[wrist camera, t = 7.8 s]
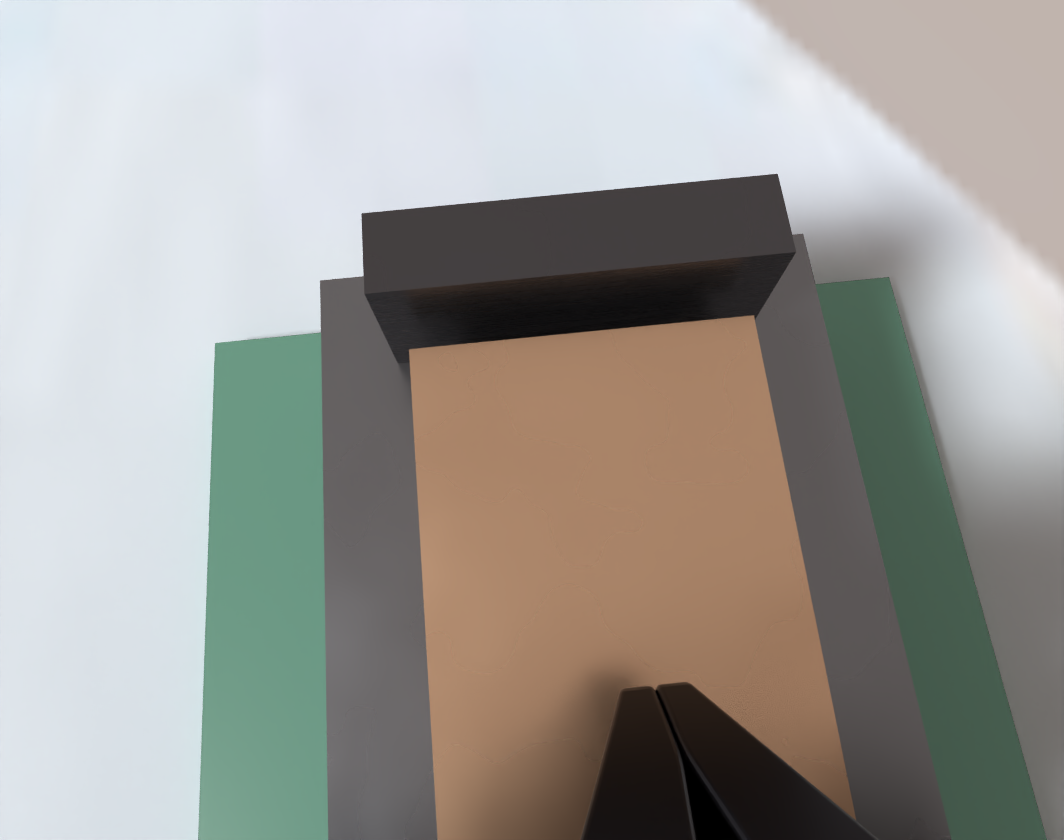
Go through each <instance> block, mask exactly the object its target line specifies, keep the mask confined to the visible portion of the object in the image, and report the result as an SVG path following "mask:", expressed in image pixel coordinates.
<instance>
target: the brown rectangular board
mask: <svg viewBox="0 0 1064 840" xmlns="http://www.w3.org/2000/svg"><path fill="white" fill-rule="evenodd" d="M409 358H410V375H411V392H412V410H413V427H414V444H415V461H416V478H417V495H418V512H419V530H420V547H421V564H422V581H423V598H424V615H425V633H426V650H427V667H428V684H429V701H430V718H431V735H432V753H433V770H434V787H435V804H436V821H437V838H438V840H580V838H581V834H582V830H583V827H584V823H585V819H586V815H587V812H588V808H589V804H590V801H591V797H592V793H593V789H594V786H595V782H596V778H597V774H598V771H599V767H600V763H601V760H602V756H603V752H604V748H605V745H606V741H607V737H608V733H609V730H610V726H611V722H612V718H613V715H614V711H615V707H616V704H617V700H618V696H619V693H620V691H621V690H622V689H624V688H632V687H641V686H651V687H653V688H654V689H656V687H657V686H658V685H660V684H668V683H678V682H688V683H690V684H692V685H693V686H694V687H696V688H697V689H698V690H699V691H700V692H702V693H703V694H704V695H705V696H706V697H708V698H709V699H710V700H711V701H712V702H714V703H715V704H716V705H717V706H718V707H720V708H721V709H722V710H723V711H724V712H726V713H727V714H728V715H729V716H731V717H732V718H733V719H734V720H735V721H737V722H738V723H739V724H740V725H741V726H743V727H744V728H745V729H746V730H747V731H749V732H750V733H751V734H752V735H753V736H755V737H756V738H757V739H758V740H759V741H761V742H762V743H763V744H764V745H765V746H767V747H768V748H769V749H770V750H772V751H773V752H774V753H775V754H776V755H778V756H779V757H780V758H781V759H782V760H784V761H785V762H786V763H787V764H788V765H790V766H791V767H792V768H793V769H794V770H796V771H797V772H798V773H799V774H800V775H802V776H803V777H804V778H805V779H807V780H808V781H809V782H810V783H811V784H813V785H814V786H815V787H816V788H817V789H819V790H820V791H821V792H822V793H823V794H825V795H826V796H827V797H828V798H829V799H831V800H832V801H833V802H834V803H835V804H837V805H838V806H839V807H840V808H841V809H843V810H844V811H845V812H846V813H848V814H849V815H850V816H851V817H852V818H854V819H855V820H856V817H855V812H854V807H853V802H852V797H851V792H850V787H849V782H848V777H847V772H846V767H845V763H844V758H843V753H842V748H841V743H840V738H839V733H838V728H837V723H836V718H835V713H834V708H833V703H832V698H831V694H830V689H829V684H828V679H827V674H826V669H825V664H824V659H823V654H822V649H821V644H820V639H819V634H818V629H817V624H816V620H815V615H814V610H813V605H812V600H811V595H810V590H809V585H808V580H807V575H806V570H805V565H804V560H803V555H802V551H801V546H800V541H799V536H798V531H797V526H796V521H795V516H794V511H793V506H792V501H791V496H790V491H789V486H788V482H787V477H786V472H785V467H784V462H783V457H782V452H781V447H780V442H779V437H778V432H777V427H776V422H775V417H774V412H773V408H772V403H771V398H770V393H769V388H768V383H767V378H766V373H765V368H764V363H763V358H762V353H761V348H760V343H759V339H758V334H757V329H756V324H755V319H754V315H752V316H742V317H732V318H722V319H711V320H701V321H691V322H681V323H671V324H661V325H651V326H640V327H630V328H620V329H610V330H600V331H590V332H580V333H569V334H559V335H549V336H539V337H529V338H519V339H508V340H498V341H488V342H478V343H468V344H458V345H448V346H437V347H427V348H417V349H409Z"/></svg>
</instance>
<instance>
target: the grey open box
mask: <svg viewBox="0 0 1064 840" xmlns="http://www.w3.org/2000/svg"><path fill="white" fill-rule="evenodd" d="M362 240H363V269H364V276H363V277H353V278H343V279H332V280H322V281H320V297H321V368H322V439H323V509H324V580H325V650H326V721H327V791H328V840H438V838H437V821H436V804H435V787H434V770H433V753H432V735H431V718H430V701H429V684H428V667H427V650H426V633H425V615H424V598H423V581H422V564H421V547H420V530H419V512H418V495H417V478H416V461H415V444H414V427H413V410H412V392H411V375H410V358H409V349H417V348H427V347H437V346H448V345H458V344H468V343H478V342H488V341H498V340H508V339H519V338H529V337H539V336H549V335H559V334H569V333H580V332H590V331H600V330H610V329H620V328H630V327H640V326H651V325H661V324H671V323H681V322H691V321H701V320H711V319H722V318H732V317H742V316H752V315H754V319H755V324H756V329H757V334H758V339H759V343H760V348H761V353H762V358H763V363H764V368H765V373H766V378H767V383H768V388H769V393H770V398H771V403H772V408H773V412H774V417H775V422H776V427H777V432H778V437H779V442H780V447H781V452H782V457H783V462H784V467H785V472H786V477H787V482H788V486H789V491H790V496H791V501H792V506H793V511H794V516H795V521H796V526H797V531H798V536H799V541H800V546H801V551H802V555H803V560H804V565H805V570H806V575H807V580H808V585H809V590H810V595H811V600H812V605H813V610H814V615H815V620H816V624H817V629H818V634H819V639H820V644H821V649H822V654H823V659H824V664H825V669H826V674H827V679H828V684H829V689H830V694H831V698H832V703H833V708H834V713H835V718H836V723H837V728H838V733H839V738H840V743H841V748H842V753H843V758H844V763H845V767H846V772H847V777H848V782H849V787H850V792H851V797H852V802H853V807H854V812H855V817H856V821H857V822H858V823H860V824H861V825H862V826H863V827H864V828H866V829H867V830H868V831H869V832H870V833H872V834H873V835H874V836H875V837H876V838H878V839H879V840H952V839H951V835H950V831H949V827H948V823H947V819H946V815H945V811H944V807H943V803H942V799H941V795H940V791H939V786H938V782H937V778H936V774H935V770H934V766H933V762H932V758H931V754H930V750H929V746H928V742H927V738H926V734H925V729H924V725H923V721H922V717H921V713H920V709H919V705H918V701H917V697H916V693H915V689H914V685H913V681H912V676H911V672H910V668H909V664H908V660H907V656H906V652H905V648H904V644H903V640H902V636H901V632H900V628H899V623H898V619H897V615H896V611H895V607H894V603H893V599H892V595H891V591H890V587H889V583H888V579H887V575H886V570H885V566H884V562H883V558H882V554H881V550H880V546H879V542H878V538H877V534H876V530H875V526H874V522H873V518H872V513H871V509H870V505H869V501H868V497H867V493H866V489H865V485H864V481H863V477H862V473H861V469H860V465H859V460H858V456H857V452H856V448H855V444H854V440H853V436H852V432H851V428H850V424H849V420H848V416H847V412H846V407H845V403H844V399H843V395H842V391H841V387H840V383H839V379H838V375H837V371H836V367H835V363H834V359H833V354H832V350H831V346H830V342H829V338H828V334H827V330H826V326H825V322H824V318H823V314H822V310H821V306H820V301H819V297H818V293H817V289H816V285H815V281H814V277H813V273H812V269H811V265H810V261H809V257H808V253H807V249H806V244H805V240H804V236H803V234H797V235H792V232H791V228H790V224H789V219H788V215H787V211H786V207H785V203H784V199H783V194H782V190H781V186H780V182H779V178H778V174H771V175H761V176H750V177H740V178H729V179H719V180H708V181H698V182H687V183H677V184H666V185H656V186H645V187H635V188H624V189H614V190H603V191H593V192H582V193H572V194H561V195H551V196H540V197H530V198H519V199H509V200H498V201H488V202H477V203H467V204H456V205H446V206H435V207H425V208H414V209H404V210H393V211H383V212H372V213H362Z"/></svg>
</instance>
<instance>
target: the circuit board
mask: <svg viewBox="0 0 1064 840" xmlns="http://www.w3.org/2000/svg"><path fill="white" fill-rule="evenodd" d="M815 285H816V289H817V293H818V297H819V301H820V306H821V310H822V314H823V318H824V322H825V326H826V330H827V334H828V338H829V342H830V346H831V350H832V354H833V359H834V363H835V367H836V371H837V375H838V379H839V383H840V387H841V391H842V395H843V399H844V403H845V407H846V412H847V416H848V420H849V424H850V428H851V432H852V436H853V440H854V444H855V448H856V452H857V456H858V460H859V465H860V469H861V473H862V477H863V481H864V485H865V489H866V493H867V497H868V501H869V505H870V509H871V513H872V518H873V522H874V526H875V530H876V534H877V538H878V542H879V546H880V550H881V554H882V558H883V562H884V566H885V570H886V575H887V579H888V583H889V587H890V591H891V595H892V599H893V603H894V607H895V611H896V615H897V619H898V623H899V628H900V632H901V636H902V640H903V644H904V648H905V652H906V656H907V660H908V664H909V668H910V672H911V676H912V681H913V685H914V689H915V693H916V697H917V701H918V705H919V709H920V713H921V717H922V721H923V725H924V729H925V734H926V738H927V742H928V746H929V750H930V754H931V758H932V762H933V766H934V770H935V774H936V778H937V782H938V786H939V791H940V795H941V799H942V803H943V807H944V811H945V815H946V819H947V823H948V827H949V831H950V835H951V839H952V840H1047V839H1046V836H1045V832H1044V828H1043V825H1042V821H1041V818H1040V814H1039V811H1038V807H1037V803H1036V800H1035V796H1034V793H1033V789H1032V786H1031V782H1030V778H1029V775H1028V771H1027V768H1026V764H1025V761H1024V757H1023V754H1022V750H1021V746H1020V743H1019V739H1018V736H1017V732H1016V729H1015V725H1014V721H1013V718H1012V714H1011V711H1010V707H1009V704H1008V700H1007V697H1006V693H1005V689H1004V686H1003V682H1002V679H1001V675H1000V672H999V668H998V664H997V661H996V657H995V654H994V650H993V647H992V643H991V640H990V636H989V632H988V629H987V625H986V622H985V618H984V615H983V611H982V607H981V604H980V600H979V597H978V593H977V590H976V586H975V583H974V579H973V575H972V572H971V568H970V565H969V561H968V558H967V554H966V550H965V547H964V543H963V540H962V536H961V533H960V529H959V526H958V522H957V518H956V515H955V511H954V508H953V504H952V501H951V497H950V493H949V490H948V486H947V483H946V479H945V476H944V472H943V468H942V465H941V461H940V458H939V454H938V451H937V447H936V444H935V440H934V436H933V433H932V429H931V426H930V422H929V419H928V415H927V411H926V408H925V404H924V401H923V397H922V394H921V390H920V387H919V383H918V379H917V376H916V372H915V369H914V365H913V362H912V358H911V354H910V351H909V347H908V344H907V340H906V337H905V333H904V330H903V326H902V322H901V319H900V315H899V312H898V308H897V305H896V301H895V297H894V294H893V290H892V287H891V283H890V280H889V277H886V278H875V279H865V280H855V281H845V282H835V283H824V284H815ZM198 840H328V791H327V721H326V650H325V580H324V509H323V439H322V368H321V333H314V334H304V335H294V336H283V337H273V338H263V339H253V340H243V341H232V342H222V343H215V362H214V392H213V421H212V451H211V480H210V509H209V539H208V568H207V598H206V627H205V656H204V686H203V715H202V745H201V774H200V803H199V833H198Z"/></svg>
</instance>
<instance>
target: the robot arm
mask: <svg viewBox="0 0 1064 840" xmlns="http://www.w3.org/2000/svg"><path fill="white" fill-rule="evenodd" d="M580 840H879V839H878V838H876V837H875V836H874V835H873V834H872V833H870V832H869V831H868V830H867V829H866V828H864V827H863V826H862V825H861V824H860V823H858V822H857V821H856V820H855V819H854V818H852V817H851V816H850V815H849V814H848V813H846V812H845V811H844V810H843V809H841V808H840V807H839V806H838V805H837V804H835V803H834V802H833V801H832V800H831V799H829V798H828V797H827V796H826V795H825V794H823V793H822V792H821V791H820V790H819V789H817V788H816V787H815V786H814V785H813V784H811V783H810V782H809V781H808V780H807V779H805V778H804V777H803V776H802V775H800V774H799V773H798V772H797V771H796V770H794V769H793V768H792V767H791V766H790V765H788V764H787V763H786V762H785V761H784V760H782V759H781V758H780V757H779V756H778V755H776V754H775V753H774V752H773V751H772V750H770V749H769V748H768V747H767V746H765V745H764V744H763V743H762V742H761V741H759V740H758V739H757V738H756V737H755V736H753V735H752V734H751V733H750V732H749V731H747V730H746V729H745V728H744V727H743V726H741V725H740V724H739V723H738V722H737V721H735V720H734V719H733V718H732V717H731V716H729V715H728V714H727V713H726V712H724V711H723V710H722V709H721V708H720V707H718V706H717V705H716V704H715V703H714V702H712V701H711V700H710V699H709V698H708V697H706V696H705V695H704V694H703V693H702V692H700V691H699V690H698V689H697V688H696V687H694V686H693V685H692V684H690V683H688V682H678V683H668V684H660V685H658V686H657V687H656V689H654V688H653V687H651V686H641V687H632V688H624V689H622V690H621V691H620V693H619V696H618V700H617V704H616V707H615V711H614V715H613V718H612V722H611V726H610V730H609V733H608V737H607V741H606V745H605V748H604V752H603V756H602V760H601V763H600V767H599V771H598V774H597V778H596V782H595V786H594V789H593V793H592V797H591V801H590V804H589V808H588V812H587V815H586V819H585V823H584V827H583V830H582V834H581V838H580Z"/></svg>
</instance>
